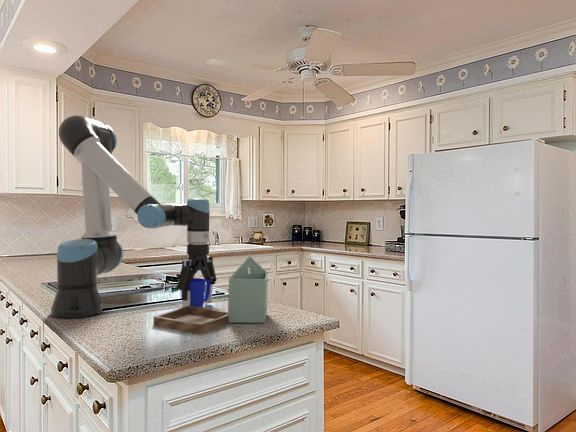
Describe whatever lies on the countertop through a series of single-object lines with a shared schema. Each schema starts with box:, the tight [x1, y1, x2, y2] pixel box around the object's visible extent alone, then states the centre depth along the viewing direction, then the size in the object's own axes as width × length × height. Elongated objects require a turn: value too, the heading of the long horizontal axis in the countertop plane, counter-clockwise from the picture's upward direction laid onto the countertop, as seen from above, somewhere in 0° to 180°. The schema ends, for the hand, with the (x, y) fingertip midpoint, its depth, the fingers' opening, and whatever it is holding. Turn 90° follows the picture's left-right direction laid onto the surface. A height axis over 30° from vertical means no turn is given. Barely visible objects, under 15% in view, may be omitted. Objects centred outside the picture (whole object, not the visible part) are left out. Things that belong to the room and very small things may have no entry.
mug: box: [185, 277, 210, 308], centre depth 152 cm, size 8×12×10 cm
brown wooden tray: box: [152, 306, 230, 335], centre depth 134 cm, size 18×16×3 cm
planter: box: [227, 255, 269, 324], centre depth 138 cm, size 16×8×20 cm, turn 138°
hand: (197, 305), depth 153 cm, fingers closed on mug, 11 cm apart
